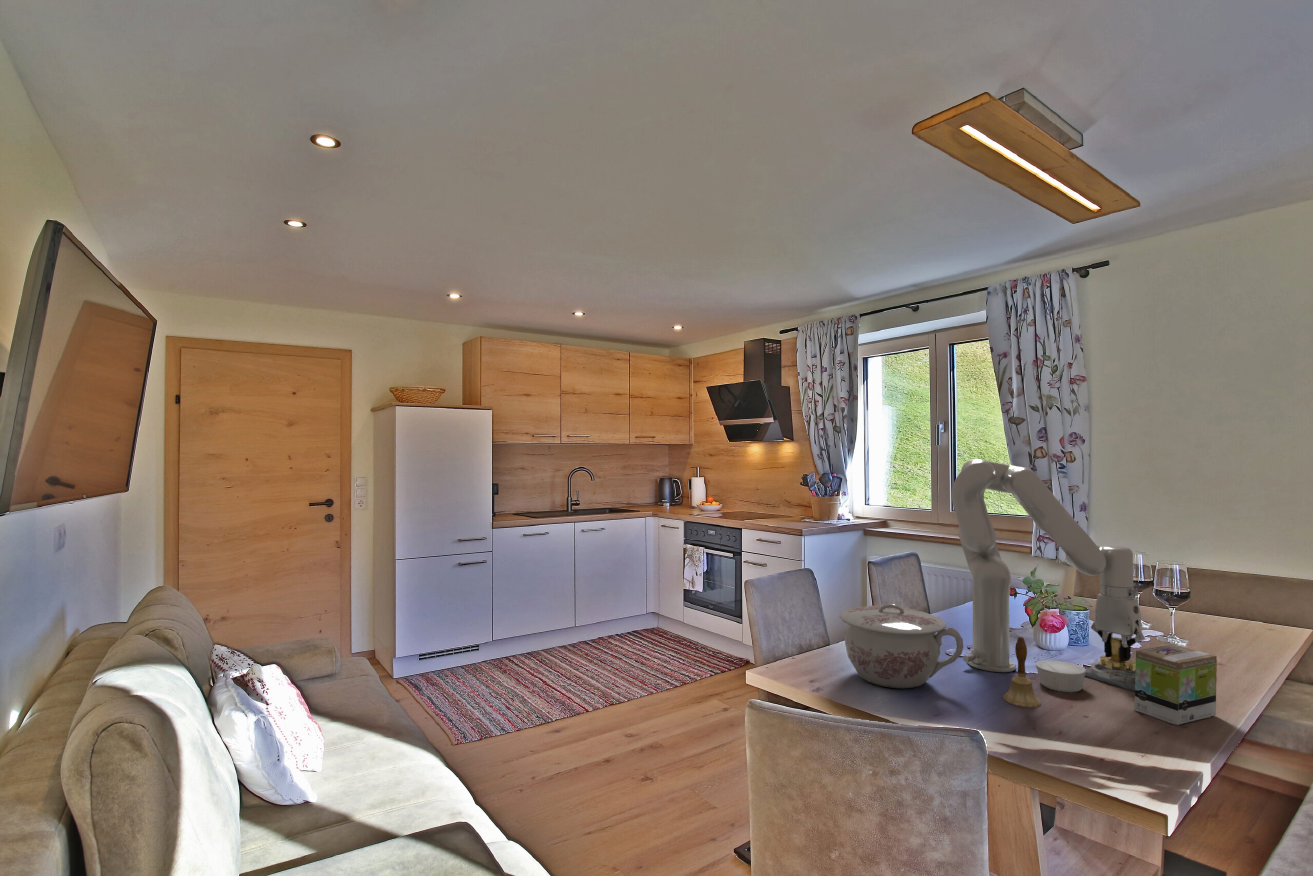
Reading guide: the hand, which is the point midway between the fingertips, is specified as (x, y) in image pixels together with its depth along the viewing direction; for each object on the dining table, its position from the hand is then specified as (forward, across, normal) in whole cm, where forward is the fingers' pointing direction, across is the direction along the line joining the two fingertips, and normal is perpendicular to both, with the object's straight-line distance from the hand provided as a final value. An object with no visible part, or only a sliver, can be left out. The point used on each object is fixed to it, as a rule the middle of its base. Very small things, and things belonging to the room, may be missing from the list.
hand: (1117, 658), depth 181 cm
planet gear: (+2, 0, 0) cm, 2 cm away
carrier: (+6, -2, 0) cm, 6 cm away
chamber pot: (+5, +27, +57) cm, 63 cm away
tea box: (+6, -20, +13) cm, 24 cm away
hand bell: (+6, +2, +39) cm, 39 cm away
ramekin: (+6, +4, +20) cm, 21 cm away
